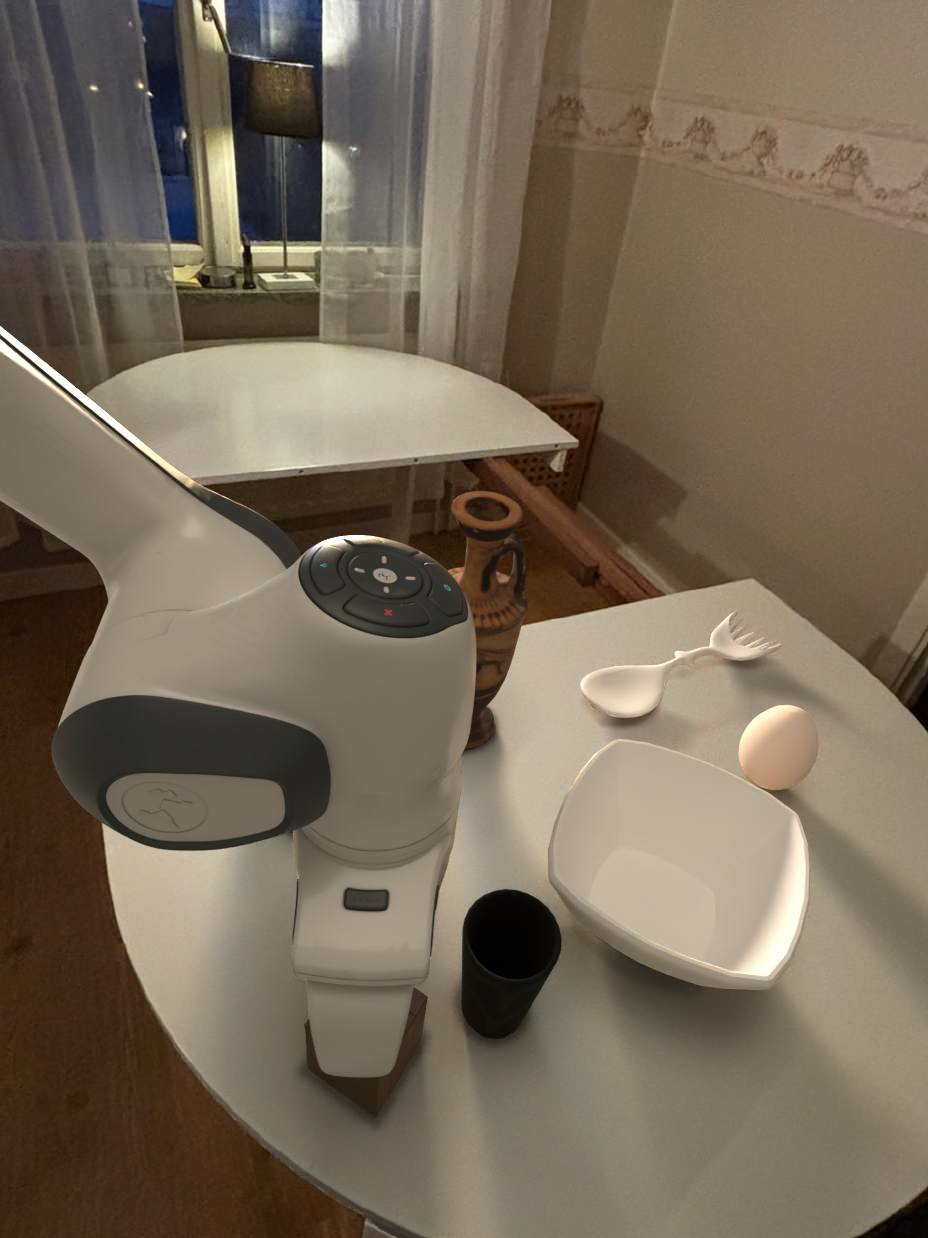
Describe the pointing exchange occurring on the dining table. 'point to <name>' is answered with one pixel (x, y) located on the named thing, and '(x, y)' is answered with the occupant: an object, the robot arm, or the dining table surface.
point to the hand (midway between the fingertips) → (372, 941)
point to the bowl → (682, 866)
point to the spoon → (663, 673)
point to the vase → (490, 594)
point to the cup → (505, 959)
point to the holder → (376, 1089)
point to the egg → (779, 747)
